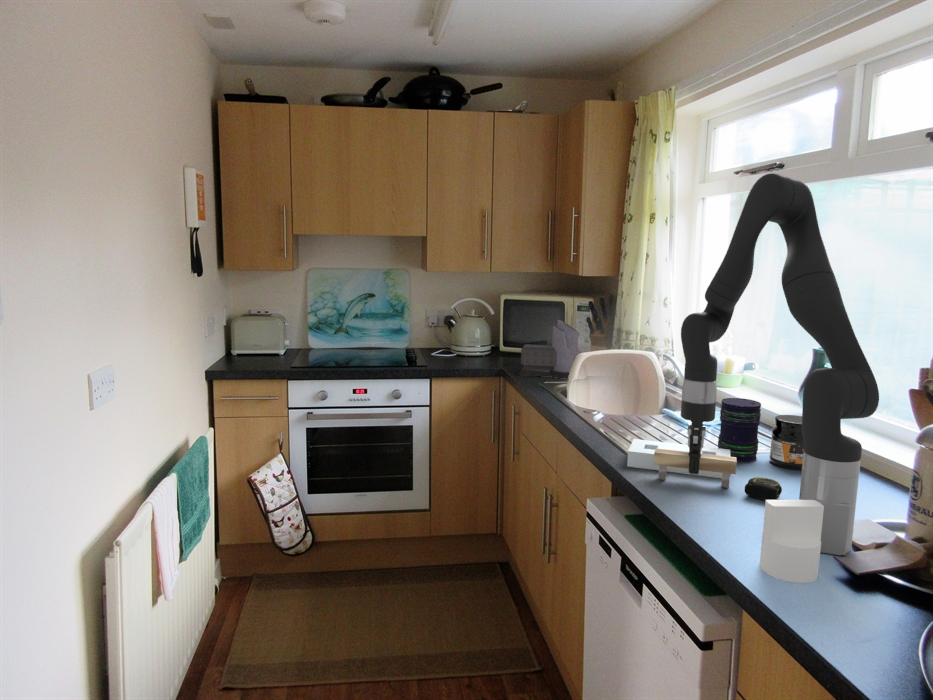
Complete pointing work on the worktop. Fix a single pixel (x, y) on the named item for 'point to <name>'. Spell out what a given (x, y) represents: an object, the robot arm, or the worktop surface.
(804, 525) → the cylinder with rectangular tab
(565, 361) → the juicer
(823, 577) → the worktop surface
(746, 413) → the storage jar
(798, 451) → the supplement container
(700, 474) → the slot board
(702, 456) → the miniature wooden bench
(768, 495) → the tape measure
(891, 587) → the worktop surface
